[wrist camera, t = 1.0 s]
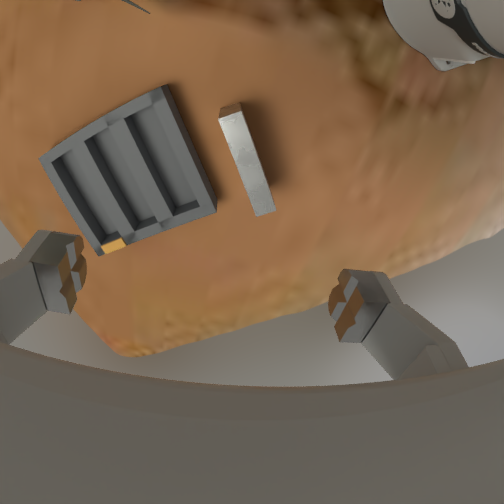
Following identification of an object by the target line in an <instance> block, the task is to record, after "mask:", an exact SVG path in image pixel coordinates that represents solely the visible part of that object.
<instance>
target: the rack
mask: <svg viewBox="0 0 504 504" xmlns="http://www.w3.org/2000/svg"><path fill="white" fill-rule="evenodd" d="M39 160H40V162H41V164H42V166H43V168H44V170H45V171H46V173H47V175H48V177H49V179H50V180H51V182H52V184H53V186H54V187H55V189H56V191H57V193H58V194H59V196H60V198H61V199H62V201H63V203H64V204H65V206H66V208H67V209H68V211H69V212H70V214H71V216H72V217H73V219H74V220H75V222H76V223H77V225H78V227H79V228H80V230H81V231H82V233H83V234H84V236H85V237H86V239H87V240H88V242H89V243H90V245H91V246H92V248H93V249H94V250H95V252H96V253H97V255H98V256H101V255H103V254H108V253H110V252H113V251H115V250H118V249H120V248H123V247H125V246H127V245H129V244H131V243H134V242H137V241H139V240H142V239H144V238H147V237H150V236H152V235H155V234H158V233H160V232H163V231H166V230H168V229H171V228H174V227H177V226H179V225H182V224H185V223H188V222H191V221H193V220H196V219H199V218H202V217H205V216H208V215H210V214H213V213H216V212H217V198H216V196H215V193H214V191H213V189H212V187H211V184H210V182H209V180H208V178H207V175H206V173H205V171H204V168H203V166H202V164H201V162H200V159H199V157H198V155H197V152H196V150H195V148H194V146H193V143H192V141H191V139H190V136H189V134H188V132H187V130H186V127H185V125H184V123H183V120H182V118H181V116H180V114H179V111H178V109H177V107H176V104H175V102H174V100H173V97H172V95H171V93H170V90H169V88H168V86H167V84H166V85H163V86H161V87H158V88H156V89H154V90H152V91H150V92H148V93H146V94H144V95H142V96H140V97H138V98H136V99H134V100H132V101H130V102H128V103H126V104H124V105H122V106H120V107H119V108H117V109H115V110H113V111H111V112H110V113H108V114H106V115H104V116H102V117H101V118H99V119H97V120H96V121H94V122H92V123H91V124H89V125H87V126H86V127H84V128H82V129H81V130H79V131H78V132H76V133H75V134H73V135H72V136H70V137H68V138H67V139H65V140H64V141H62V142H61V143H60V144H58V145H57V146H55V147H54V148H52V149H51V150H49V151H48V152H47V153H45V154H44V155H43V156H41V157H40V158H39Z"/></svg>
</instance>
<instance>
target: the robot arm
mask: <svg viewBox="0 0 504 504" xmlns="http://www.w3.org/2000/svg"><path fill="white" fill-rule="evenodd" d="M383 4H384V8H385V11H386V14H387V16H388V18H389V20H390V22H391V24H392V26H393V27H394V29H395V30H396V31H397V33H398V34H399V35H400V36H401V38H402V39H403V40H404V41H405V42H407V43H408V44H409V45H410V46H411V47H413V48H414V49H416V50H418V51H419V52H421V53H422V54H424V55H425V56H426V57H427V58H428V59H429V61H430V62H431V63H432V65H433V66H434V67H435V68H436V69H437V70H439V71H447V70H450V69H453V68H456V67H459V66H462V65H465V64H468V63H469V64H474V63H475V61H477V60H481V59H484V58H487V57H494V58H504V0H383ZM446 61H448V63H447V62H446ZM83 249H84V244H83V238H82V237H81V236H80V235H74V234H68V233H61V232H55V231H48V230H38V231H37V232H36V233H35V234H34V236H33V237H32V238H31V239H30V241H29V242H28V243H27V244H26V246H25V247H24V248H23V249H22V251H21V252H20V253H19V255H18V256H17V257H16V259H10V260H8V261H6V262H4V263H2V264H0V504H504V359H502V360H498V361H494V362H490V363H487V364H483V365H478V366H474V367H468V365H467V363H466V361H465V359H464V357H463V356H462V354H461V352H460V350H459V348H458V346H457V345H456V343H455V342H454V341H453V340H452V339H450V338H449V337H448V336H447V335H446V334H444V333H443V332H442V331H440V330H439V329H438V328H437V327H435V326H434V325H433V324H432V323H430V322H429V321H428V320H427V319H425V318H424V317H423V316H421V315H420V314H419V313H418V312H416V311H415V310H414V309H412V308H411V307H410V306H408V305H407V304H403V302H402V301H401V299H400V297H399V295H398V294H397V292H396V290H395V289H394V287H393V285H392V284H391V282H390V280H389V279H388V277H387V275H386V274H385V273H383V272H376V271H361V270H352V269H343V270H342V271H341V272H340V274H339V277H338V281H339V285H337V286H336V287H334V288H333V289H332V291H331V294H330V296H329V302H328V307H329V313H330V316H331V317H332V318H333V319H334V320H335V321H336V324H335V326H334V327H335V330H336V333H337V336H338V339H339V342H353V343H362V345H363V346H364V347H365V348H366V349H367V350H368V352H369V353H370V354H371V355H372V356H373V357H374V358H375V359H376V361H377V362H378V363H379V364H380V365H381V366H382V367H383V368H384V369H385V371H386V372H387V373H388V374H389V375H390V376H391V377H392V378H393V379H394V380H391V381H383V382H374V383H363V384H349V385H332V386H306V387H259V386H234V385H218V384H204V383H194V382H183V381H175V380H166V379H159V378H151V377H144V376H138V375H131V374H126V373H120V372H114V371H109V370H104V369H99V368H94V367H89V366H85V365H80V364H76V363H72V362H68V361H64V360H60V359H56V358H52V357H47V356H44V355H41V354H37V353H34V352H31V351H27V350H24V349H21V348H17V347H14V346H11V345H9V344H10V343H11V342H13V341H14V340H15V339H16V338H17V337H18V336H19V335H20V334H22V333H23V332H24V331H25V330H26V329H27V328H28V327H30V326H31V325H32V324H33V323H34V322H35V321H37V320H38V319H39V318H40V317H41V316H42V315H44V314H45V313H46V312H47V310H48V311H53V312H59V313H64V314H71V312H72V309H73V307H74V305H75V303H76V301H77V296H76V292H78V291H79V290H81V289H82V287H83V285H84V283H85V279H86V274H87V265H86V259H85V258H84V257H83V255H82V254H81V252H82V250H83Z"/></svg>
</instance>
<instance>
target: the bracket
mask: <svg viewBox="0 0 504 504" xmlns="http://www.w3.org/2000/svg"><path fill="white" fill-rule="evenodd" d="M77 1H81V0H77ZM122 1H124V2H127V3H129V4H131V5H133V6H135V7H137V8H139V9H141V10H143V11H145V12H147V13H149V12H148V11H146V10H144V9H143V8H141V7H140V6H138V5H136V4H135V3H133V2H131V1H130V0H122ZM149 14H150V13H149Z"/></svg>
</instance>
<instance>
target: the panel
mask: <svg viewBox="0 0 504 504" xmlns="http://www.w3.org/2000/svg"><path fill="white" fill-rule="evenodd" d="M218 120H219V122H220V125H221V127H222V130H223V133H224V135H225V138H226V140H227V143H228V145H229V148H230V150H231V153H232V155H233V158H234V160H235V163H236V166H237V168H238V171H239V173H240V176H241V178H242V181H243V183H244V186H245V189H246V191H247V194H248V196H249V199H250V202H251V204H252V207H253V209H254V212H255V215H256V217H257V216H260V215H264V214H267V213H270V212H273V211H276V207H275V204H274V200H273V197H272V193H271V190H270V186H269V183H268V180H267V177H266V175H265V172H264V169H263V166H262V163H261V160H260V157H259V155H258V152H257V149H256V146H255V143H254V141H253V138H252V135H251V132H250V130H249V127H248V124H247V121H246V119H245V116H244V113H243V110H242V108H241V105H240V102H238V103H235V104H232V105H230V106H227V107H224V108H221V109H220V113H219V117H218Z"/></svg>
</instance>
